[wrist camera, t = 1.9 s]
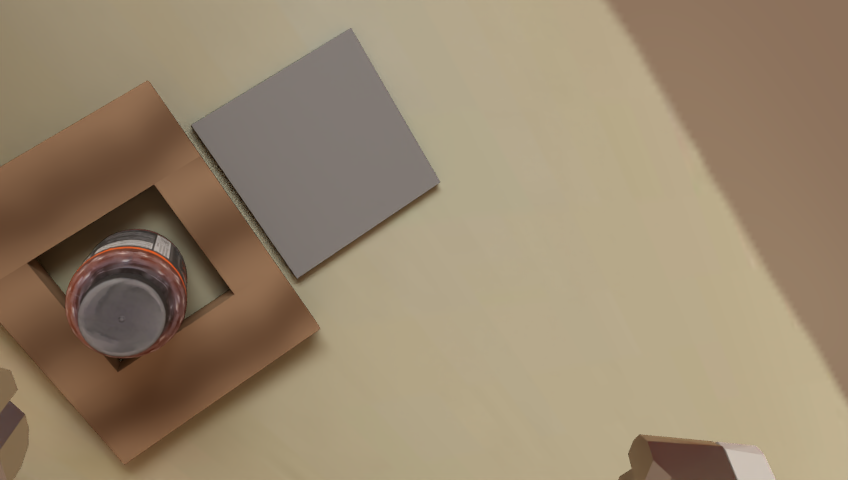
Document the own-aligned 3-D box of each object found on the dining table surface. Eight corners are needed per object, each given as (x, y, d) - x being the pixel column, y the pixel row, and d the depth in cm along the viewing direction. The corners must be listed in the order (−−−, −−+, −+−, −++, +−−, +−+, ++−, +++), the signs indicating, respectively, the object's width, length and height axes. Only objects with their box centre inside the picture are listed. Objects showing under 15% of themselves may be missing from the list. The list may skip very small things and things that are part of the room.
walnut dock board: (-77, 215, 40) (-91, 219, 38) (149, 82, 42) (147, 80, 41) (127, 450, 46) (124, 464, 44) (315, 320, 48) (320, 328, 46)
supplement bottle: (180, 322, 45) (177, 383, 35) (80, 313, 43) (45, 375, 33) (193, 233, 45) (194, 267, 34) (93, 219, 43) (60, 252, 32)
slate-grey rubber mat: (191, 125, 44) (191, 124, 43) (349, 29, 46) (350, 28, 45) (295, 276, 47) (297, 278, 47) (437, 181, 49) (440, 182, 49)
